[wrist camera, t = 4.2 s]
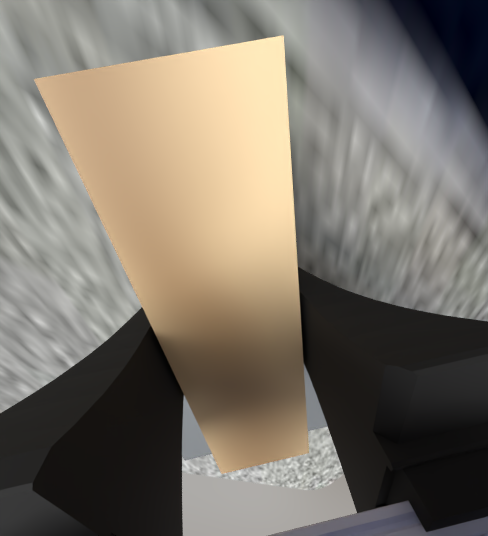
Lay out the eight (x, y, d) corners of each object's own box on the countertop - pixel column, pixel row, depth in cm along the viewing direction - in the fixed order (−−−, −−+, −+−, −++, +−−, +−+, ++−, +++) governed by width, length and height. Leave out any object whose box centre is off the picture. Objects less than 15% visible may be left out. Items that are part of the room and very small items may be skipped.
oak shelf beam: (244, 94, 8) (283, 35, 4) (279, 362, 15) (308, 452, 10) (130, 115, 8) (34, 79, 4) (218, 375, 15) (221, 473, 10)
